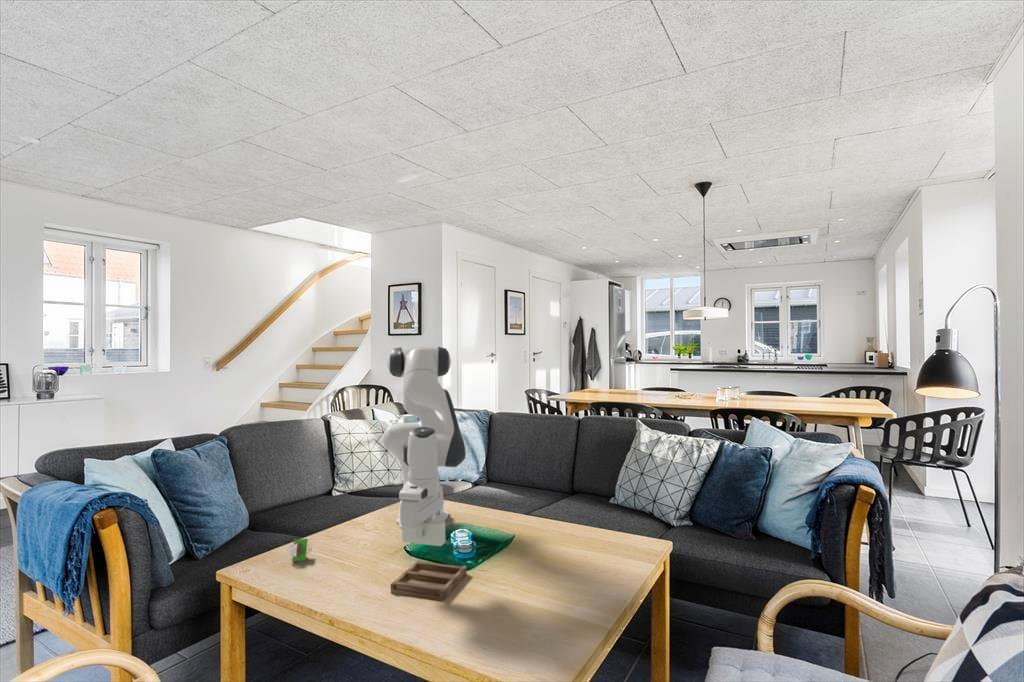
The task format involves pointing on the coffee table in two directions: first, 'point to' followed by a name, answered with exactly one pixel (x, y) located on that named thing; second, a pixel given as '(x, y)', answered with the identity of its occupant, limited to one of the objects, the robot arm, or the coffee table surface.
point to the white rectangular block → (427, 533)
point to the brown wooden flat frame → (429, 580)
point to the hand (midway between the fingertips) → (423, 534)
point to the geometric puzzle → (299, 550)
